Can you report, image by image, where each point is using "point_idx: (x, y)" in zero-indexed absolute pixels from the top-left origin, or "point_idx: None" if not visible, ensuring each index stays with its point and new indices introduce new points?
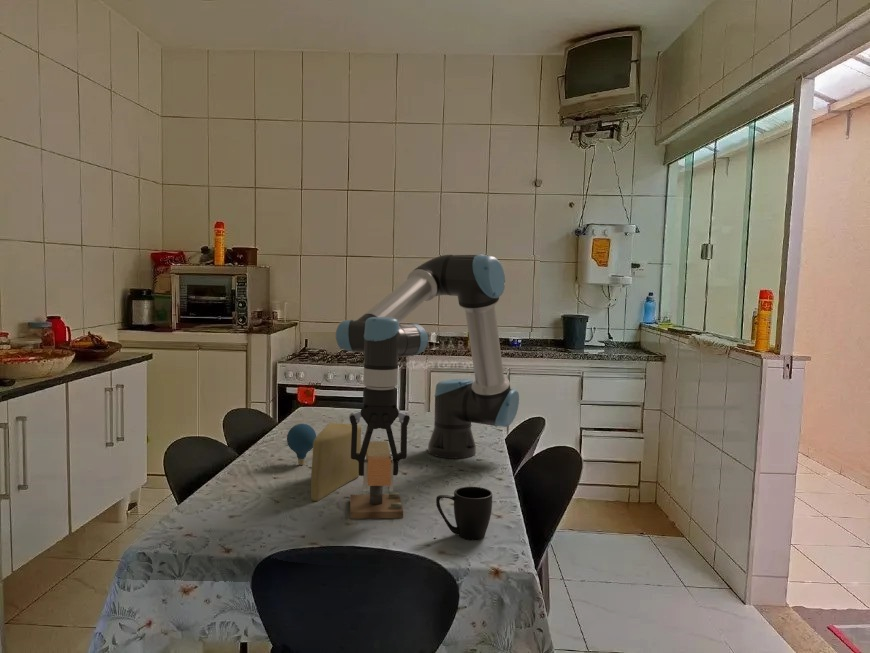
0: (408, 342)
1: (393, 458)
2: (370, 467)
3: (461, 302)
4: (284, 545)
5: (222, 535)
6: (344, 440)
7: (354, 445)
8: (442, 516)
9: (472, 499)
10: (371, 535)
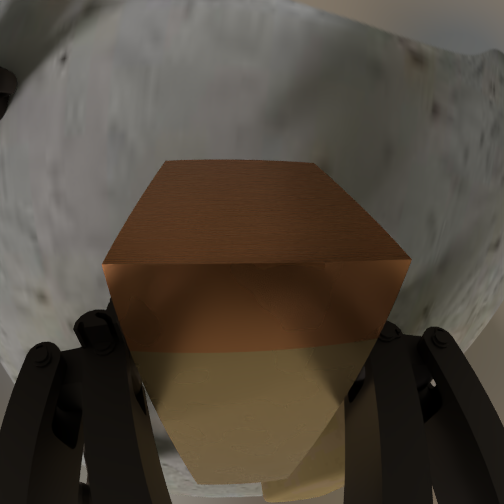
0: None
1: (120, 353)
2: (343, 212)
3: None
4: (466, 74)
5: None
6: (312, 470)
7: (476, 406)
8: (9, 71)
9: None
10: (257, 70)
